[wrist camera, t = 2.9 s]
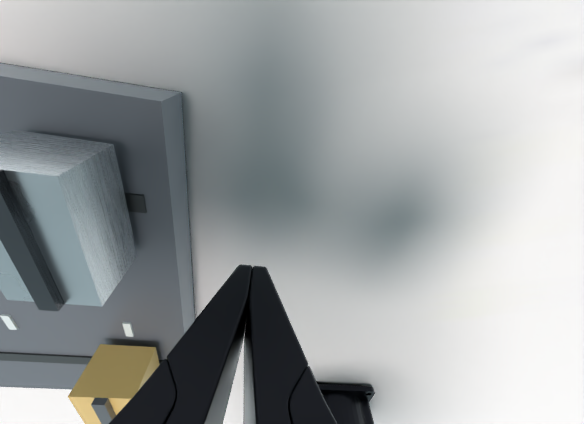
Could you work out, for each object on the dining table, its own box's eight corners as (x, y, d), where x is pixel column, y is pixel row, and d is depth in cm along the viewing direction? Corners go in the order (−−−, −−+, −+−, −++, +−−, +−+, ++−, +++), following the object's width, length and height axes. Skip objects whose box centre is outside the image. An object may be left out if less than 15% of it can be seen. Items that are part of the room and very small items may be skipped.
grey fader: (114, 143, 9) (47, 181, 6) (137, 256, 11) (97, 314, 9) (14, 130, 8) (-98, 164, 6) (61, 249, 11) (-2, 307, 8)
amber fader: (155, 347, 15) (131, 405, 12) (164, 388, 18) (145, 444, 15) (99, 344, 15) (63, 403, 12) (117, 387, 17) (90, 443, 15)
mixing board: (181, 92, 10) (160, 101, 8) (197, 365, 21) (189, 395, 19) (-421, -6, 8) (-620, -21, 6) (-62, 352, 18) (-99, 384, 17)
